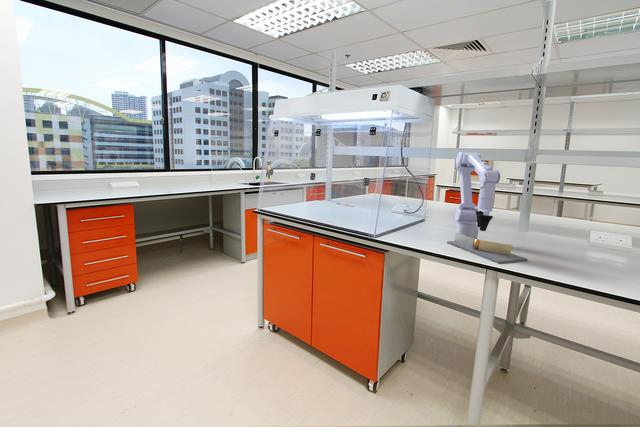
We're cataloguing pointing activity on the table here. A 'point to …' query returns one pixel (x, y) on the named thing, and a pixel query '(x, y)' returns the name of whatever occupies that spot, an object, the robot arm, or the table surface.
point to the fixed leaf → (464, 240)
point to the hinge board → (490, 254)
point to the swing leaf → (492, 246)
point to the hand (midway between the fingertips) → (481, 228)
